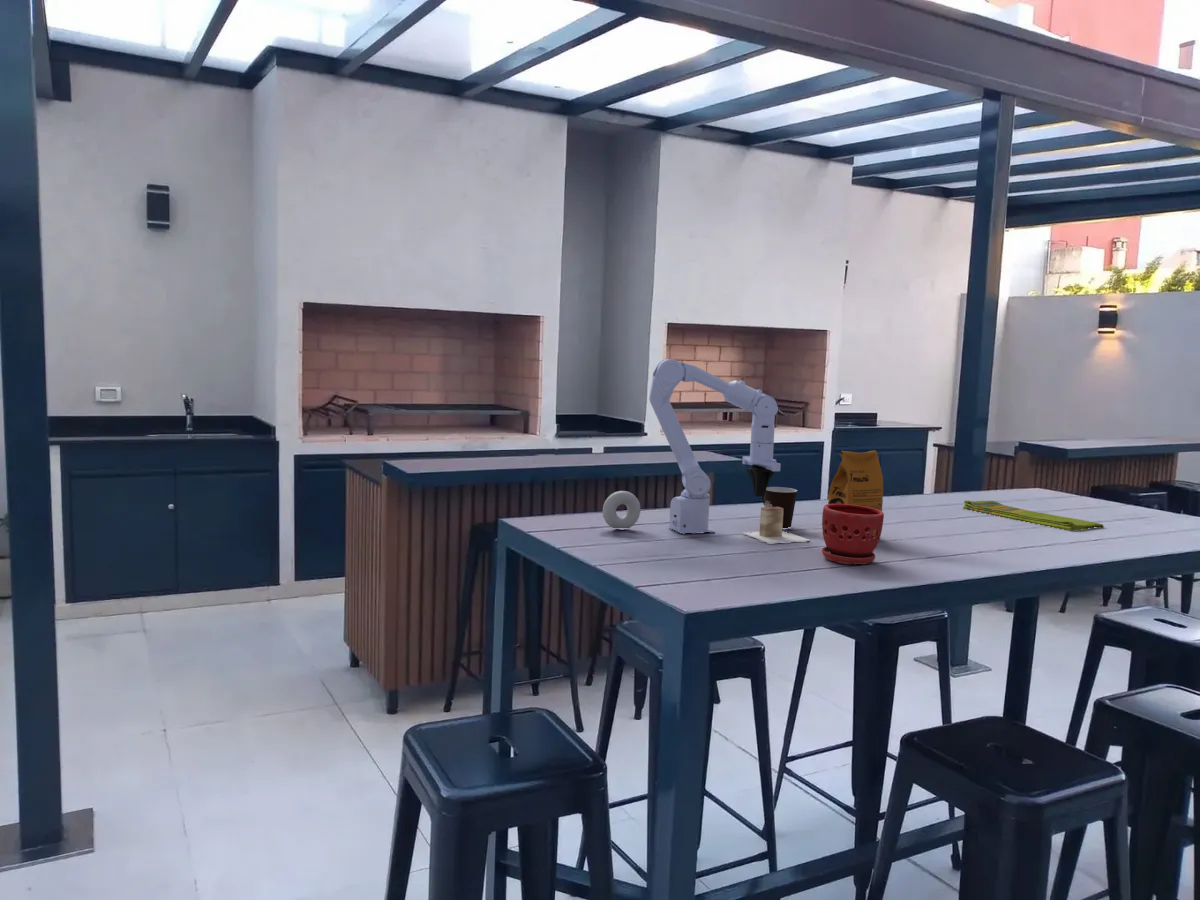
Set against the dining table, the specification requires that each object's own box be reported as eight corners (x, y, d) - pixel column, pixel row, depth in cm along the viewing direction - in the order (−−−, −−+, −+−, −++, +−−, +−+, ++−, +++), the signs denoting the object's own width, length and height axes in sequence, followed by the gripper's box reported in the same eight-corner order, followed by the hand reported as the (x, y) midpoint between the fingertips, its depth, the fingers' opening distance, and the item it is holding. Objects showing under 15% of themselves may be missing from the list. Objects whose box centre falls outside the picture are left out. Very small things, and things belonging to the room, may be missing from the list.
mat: (768, 544, 220) (768, 542, 220) (742, 534, 231) (742, 532, 231) (810, 541, 224) (810, 540, 224) (782, 531, 235) (782, 530, 235)
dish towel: (994, 507, 288) (995, 497, 287) (1104, 529, 257) (1105, 518, 257) (961, 510, 280) (962, 500, 280) (1070, 533, 249) (1071, 521, 249)
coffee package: (820, 534, 234) (825, 448, 232) (861, 532, 238) (866, 448, 236) (842, 542, 225) (848, 453, 222) (885, 540, 229) (891, 452, 227)
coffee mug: (798, 531, 237) (800, 492, 236) (764, 530, 237) (766, 491, 236) (789, 522, 249) (791, 485, 248) (757, 521, 249) (759, 484, 248)
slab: (764, 537, 226) (766, 509, 225) (759, 535, 228) (760, 507, 227) (781, 536, 228) (783, 508, 227) (776, 534, 230) (778, 506, 229)
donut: (636, 528, 234) (638, 489, 233) (641, 530, 231) (643, 491, 230) (599, 529, 231) (601, 490, 230) (604, 532, 228) (606, 492, 226)
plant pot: (839, 569, 198) (843, 514, 196) (809, 554, 210) (812, 503, 209) (892, 566, 201) (896, 512, 200) (859, 553, 214) (862, 502, 213)
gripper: (792, 445, 226) (789, 500, 227) (760, 439, 239) (757, 490, 241) (767, 445, 223) (764, 501, 225) (736, 439, 236) (734, 491, 238)
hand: (759, 495), depth 233 cm, fingers closed
